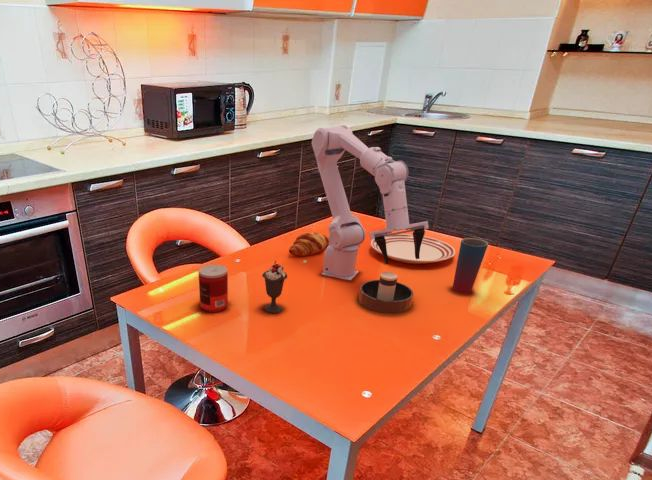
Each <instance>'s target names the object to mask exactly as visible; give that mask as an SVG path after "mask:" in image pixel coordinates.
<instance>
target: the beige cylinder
mask: <svg viewBox="0 0 652 480" xmlns="http://www.w3.org/2000/svg"><path fill="white" fill-rule="evenodd" d="M398 278H399V277H398V274H396V273H394V272H391V271H384V272H381V273H380V276H379V279H378V280H379V287H378V293H377V299H379V300H384V301H393V298H394V293H395V287H396V283H397V282H398Z"/></svg>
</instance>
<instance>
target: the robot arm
mask: <svg viewBox="0 0 652 480" xmlns="http://www.w3.org/2000/svg"><path fill="white" fill-rule="evenodd" d="M353 133H354V132H353V130H352V129H351V128H349V127H348V125H347V126H346V125H339V126H331V127H319V128H317V129H316V130H315V131H314V133H313V136H312V139H311V147H312V150H313V153H314V157H315V160H316V164H317V168H318V172H319V175H320V179H321V182H322V186H323V189H324V193H325V197H326V199H327V203H328V206H329V209H330V213H331V215H332V216H331V217H332V221H331V223H330V224H329V225H328V227H327V229H328V237H329V241H330V242H329V244H328V245H327V246H326V248H325V252H324V256H323V266H322V267H323V268H322V272H321V275H322V276H325V277H334V278H338V279H342V280H346V281H352V280H353V279H354V277H356V275H357V274H358V273H359V270H357V269H356V265H357V259H358V257H357V256H358V251H359V248H361V245H362V244H363V243H364V242H365V240H366V236H367V235H366V233H367V232H366V230H365V229H366V228H365V227H364V226H363V225H362V223H361V220H360V218H359V217H358V216H356V215H354V214H353V213H352V212H351V207H350V205H349V201H348V197H347V194H346V191H345V188H344V185H343V184H344V183H343V181H342V178H341V173H340V171H339V166H338V161H339V160H340V159H341V158H342V156H343V155H344V153H345V152H348V153H349V154H351V155H352V156H354V157H355V158H357V159H358V160H359V164H360V166H361V168H363V169H364V170H366V171H367V172H368V173H369V174H371V175H372V176H374V181H375V184H377V186H378V188H379V192H380V194H381V195H382V202H383V210H384V218H385V226H386V228H383V229H379V230H373V231H370V232H369V239H370V240H372V239H375V242H376V243H377V245H378V246H379V248H380V250H381V252H382V254H383V255H382V254H381V255H382V256H383V259H384V262H385V265H390V259H389V257H388V255H387V249H386V240H385V238H384V237H386V236H391V235H397V234H408V233H412V235H413V239H414V246H415V258H416V259H419V254H420V247H421V243H422V240H423V237H424V236H425V234H426V230H429V229H430V228H429V221H428V220H425V221H420V222H415V223H410V217H409V207H408V201H407V200H408V199H407V191H406V183H405V182H407V179H408V178H409V168H408V165H407V164H406V163H405V162H404V161H403V160H396V161H395V160H393V157H391V156H388V155H386V154H385V153H384V152H383V151H382V148H381V147H379V146H372V147H368V146H367V145H366V144H365V143H364V142H362V141H361V140H360V139H359V138H358V137H357V136H356V135H354V134H353Z"/></svg>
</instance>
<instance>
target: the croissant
mask: <svg viewBox="0 0 652 480" xmlns="http://www.w3.org/2000/svg"><path fill="white" fill-rule="evenodd" d="M329 244H330V241H329V236H327V235H326V234H321V233H319V232H309V231H308V232H303V233H300V234H299V235H297V237H296V239H295V241H294V242H293V243H292V245H291V246H290V247H289V249H288V253H289V254H290V255H293V256H300V257H305V256H312V255H315V254H318V253H319V254H320V253H321V252H322V251H324V250H325V249H326V248H327V247H328V245H329Z"/></svg>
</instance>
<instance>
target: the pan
mask: <svg viewBox="0 0 652 480" xmlns="http://www.w3.org/2000/svg"><path fill="white" fill-rule="evenodd" d="M379 280H380V279H372V280H367V281H365V282H363V283H362V284H361V285H360V286H359V293H358V302H359V304H360V305H361V306H362V307H363V308H365V309H367V310H369V311H371V312H375V313H380V314H388V315H389V314H390V315H395V314H401V313H405V312H407V311H409V310H410V308H411V307H412V304H413V303H412V302H413V299H414V290H413V289H411V288H410V287H409V286H408V285H406V284H404V283H402V282H398V281H397V283H396V287H395V293H394V298H393V301H384V300H379V299H377V293H378V287H379Z"/></svg>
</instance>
